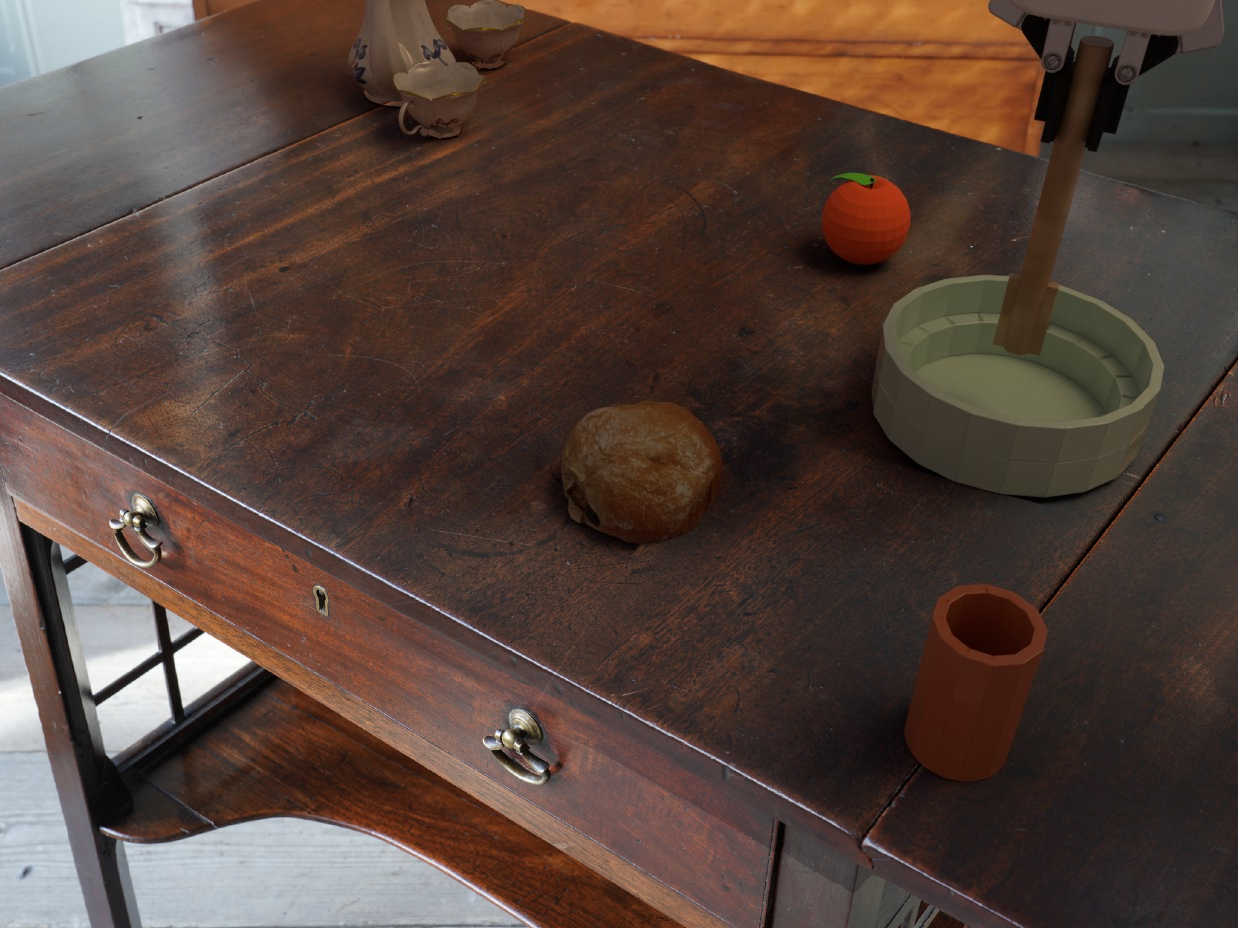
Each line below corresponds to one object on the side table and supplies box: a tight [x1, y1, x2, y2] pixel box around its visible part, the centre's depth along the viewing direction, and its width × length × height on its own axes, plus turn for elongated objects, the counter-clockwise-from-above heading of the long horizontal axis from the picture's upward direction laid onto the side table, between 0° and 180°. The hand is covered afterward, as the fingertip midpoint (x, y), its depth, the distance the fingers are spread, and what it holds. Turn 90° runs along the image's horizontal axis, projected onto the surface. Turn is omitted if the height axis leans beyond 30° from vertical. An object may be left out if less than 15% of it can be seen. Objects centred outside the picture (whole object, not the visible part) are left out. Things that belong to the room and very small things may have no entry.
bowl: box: [871, 274, 1165, 498], centre depth 80 cm, size 17×17×6 cm
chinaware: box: [347, 0, 527, 137], centre depth 119 cm, size 28×17×17 cm, turn 176°
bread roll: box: [560, 400, 724, 545], centre depth 75 cm, size 10×10×8 cm
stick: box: [993, 35, 1115, 355], centre depth 72 cm, size 3×2×20 cm, turn 66°
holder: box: [903, 583, 1049, 782], centre depth 58 cm, size 5×5×9 cm
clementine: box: [820, 172, 912, 266], centre depth 97 cm, size 8×7×7 cm
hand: (1072, 135), depth 70 cm, fingers closed on stick, 1 cm apart
